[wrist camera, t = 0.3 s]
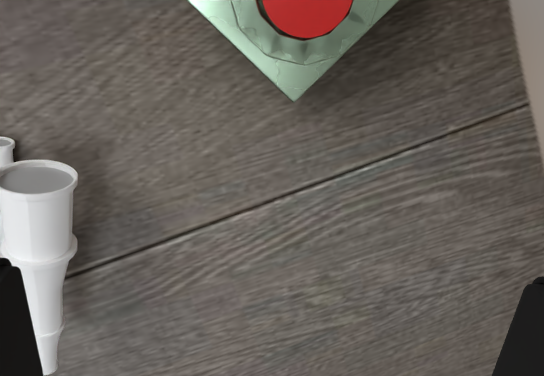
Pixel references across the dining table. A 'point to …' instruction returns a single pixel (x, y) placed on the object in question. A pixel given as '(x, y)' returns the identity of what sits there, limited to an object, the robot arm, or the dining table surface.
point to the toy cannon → (38, 238)
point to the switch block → (289, 39)
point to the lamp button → (306, 15)
